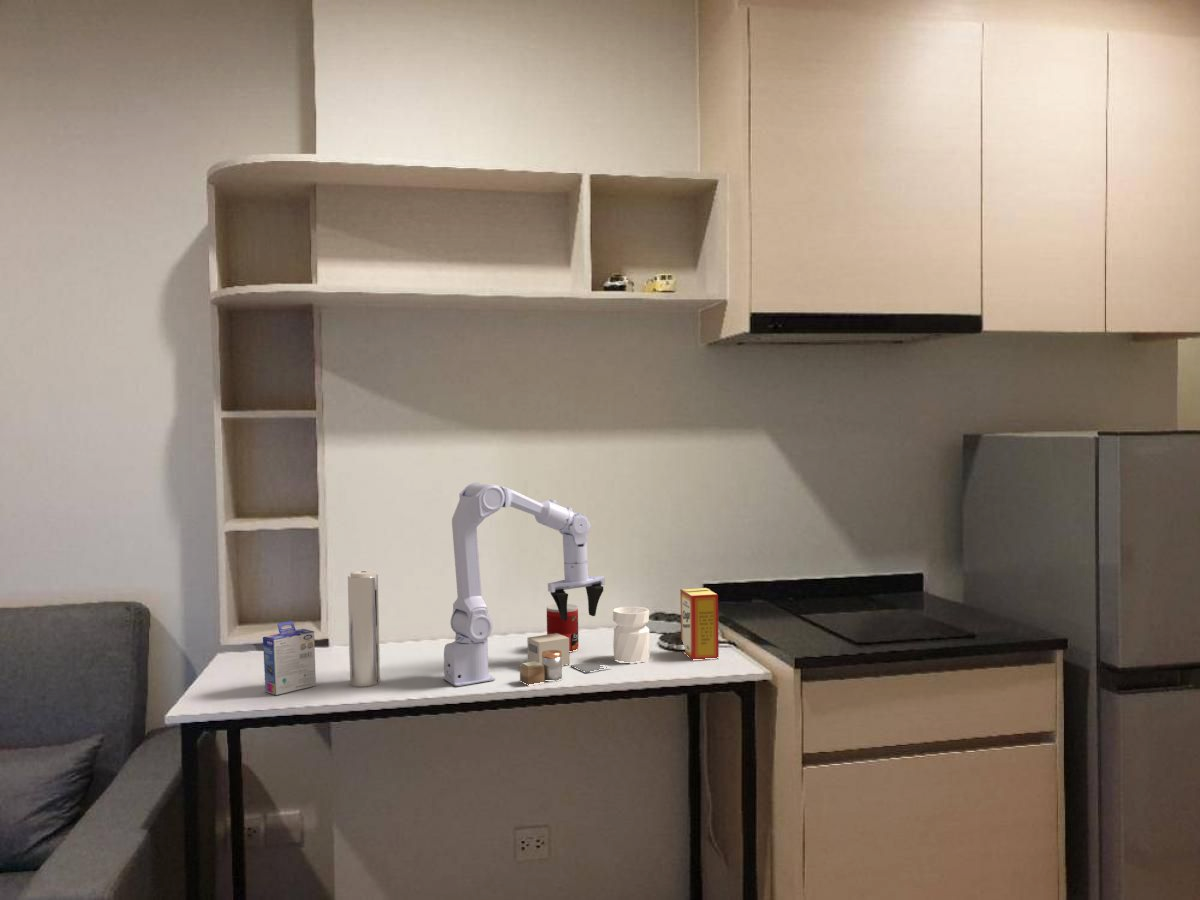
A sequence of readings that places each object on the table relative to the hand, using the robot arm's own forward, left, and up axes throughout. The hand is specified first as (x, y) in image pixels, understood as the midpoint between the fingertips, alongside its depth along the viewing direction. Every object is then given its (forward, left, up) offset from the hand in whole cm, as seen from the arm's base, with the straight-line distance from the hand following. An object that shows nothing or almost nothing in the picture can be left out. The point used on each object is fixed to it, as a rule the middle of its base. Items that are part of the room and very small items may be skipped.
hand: (578, 617), depth 216 cm
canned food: (+2, +11, -11) cm, 15 cm away
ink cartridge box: (-64, +15, -11) cm, 67 cm away
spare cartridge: (-13, -11, -10) cm, 20 cm away
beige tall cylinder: (-49, +10, -11) cm, 51 cm away
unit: (-8, 0, -10) cm, 13 cm away
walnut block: (-18, -11, -10) cm, 24 cm away
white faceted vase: (+11, -7, -11) cm, 17 cm away
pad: (-1, -8, -10) cm, 13 cm away
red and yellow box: (+27, -13, -11) cm, 31 cm away
